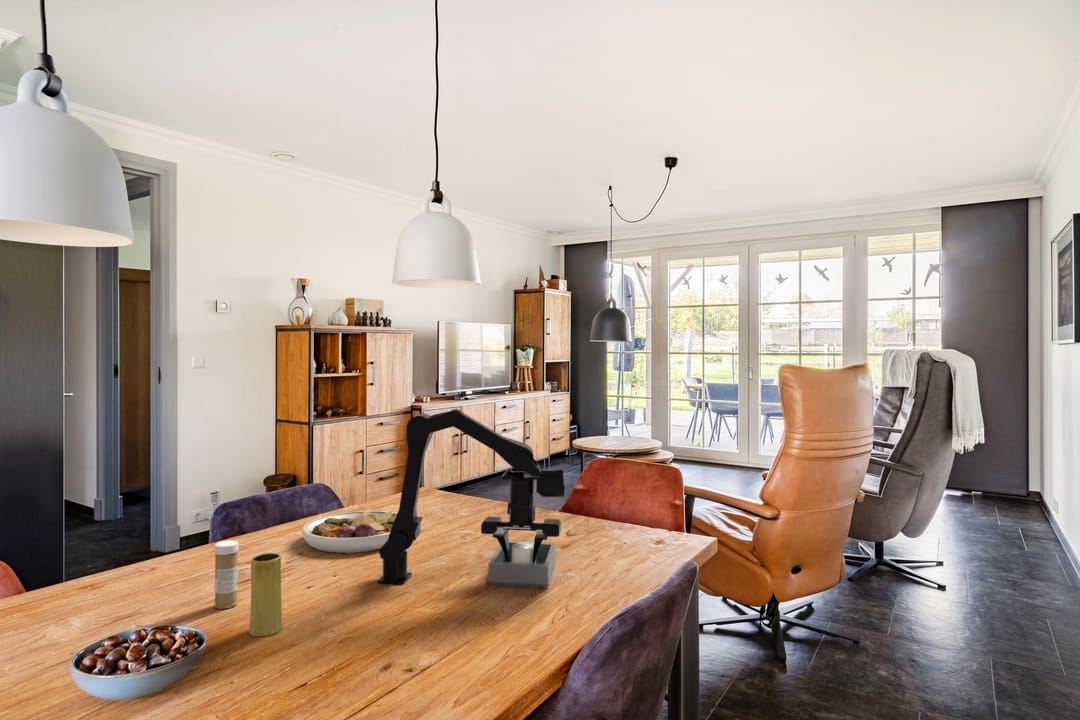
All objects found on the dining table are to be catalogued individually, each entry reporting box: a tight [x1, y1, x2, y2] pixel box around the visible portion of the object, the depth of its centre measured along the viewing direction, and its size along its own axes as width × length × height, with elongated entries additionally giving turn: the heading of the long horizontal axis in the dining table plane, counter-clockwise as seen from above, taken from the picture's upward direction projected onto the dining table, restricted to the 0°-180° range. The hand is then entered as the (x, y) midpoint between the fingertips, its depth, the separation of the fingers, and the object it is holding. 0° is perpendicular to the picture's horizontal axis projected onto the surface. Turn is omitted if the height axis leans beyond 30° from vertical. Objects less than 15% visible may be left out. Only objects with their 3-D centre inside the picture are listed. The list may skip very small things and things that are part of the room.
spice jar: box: [213, 539, 239, 610], centre depth 132 cm, size 5×5×14 cm
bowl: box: [302, 510, 398, 554], centre depth 181 cm, size 30×30×8 cm
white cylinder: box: [511, 543, 533, 565], centre depth 149 cm, size 5×5×7 cm
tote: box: [487, 541, 557, 588], centre depth 153 cm, size 18×14×5 cm
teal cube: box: [516, 541, 537, 565], centre depth 157 cm, size 5×5×5 cm
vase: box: [248, 552, 284, 637], centre depth 120 cm, size 6×6×14 cm
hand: (521, 562), depth 149 cm, fingers open, 6 cm apart
